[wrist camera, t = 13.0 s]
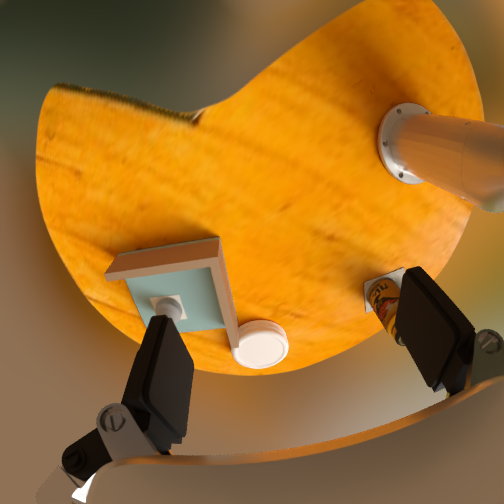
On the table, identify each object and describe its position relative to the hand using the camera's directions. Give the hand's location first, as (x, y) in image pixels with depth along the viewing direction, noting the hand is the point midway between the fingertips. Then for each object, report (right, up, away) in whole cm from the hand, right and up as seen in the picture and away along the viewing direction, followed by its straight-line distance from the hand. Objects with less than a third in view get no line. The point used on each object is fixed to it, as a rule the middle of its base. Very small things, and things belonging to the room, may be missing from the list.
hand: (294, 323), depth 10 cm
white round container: (0, -13, +38) cm, 40 cm away
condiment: (+23, -4, +35) cm, 42 cm away
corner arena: (-13, -3, +31) cm, 34 cm away
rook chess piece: (-15, -6, +32) cm, 36 cm away
